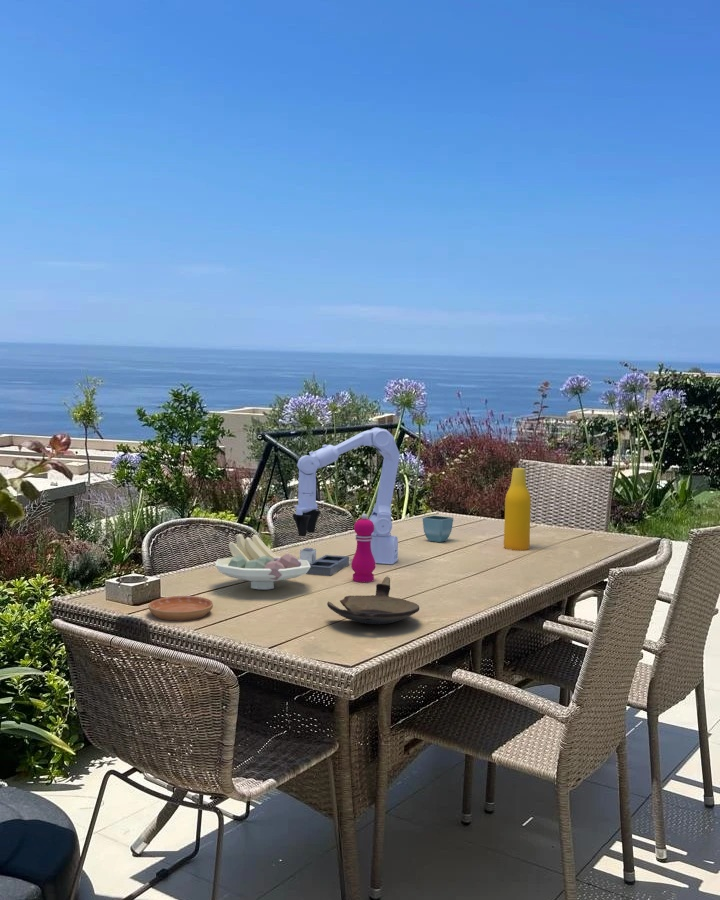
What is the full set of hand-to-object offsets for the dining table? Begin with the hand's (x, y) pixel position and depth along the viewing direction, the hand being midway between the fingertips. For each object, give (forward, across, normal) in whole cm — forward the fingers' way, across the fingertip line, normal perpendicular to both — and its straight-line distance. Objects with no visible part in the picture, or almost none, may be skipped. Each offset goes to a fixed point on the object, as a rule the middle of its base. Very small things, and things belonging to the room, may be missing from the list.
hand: (306, 534), depth 294 cm
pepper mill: (+10, +17, +25) cm, 32 cm away
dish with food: (+10, +38, +1) cm, 39 cm away
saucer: (+10, +72, -7) cm, 73 cm away
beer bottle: (+10, -54, +61) cm, 82 cm away
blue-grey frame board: (+10, +6, +10) cm, 15 cm away
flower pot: (+10, -58, +31) cm, 66 cm away
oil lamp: (+10, +59, +42) cm, 73 cm away
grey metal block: (+10, +3, +2) cm, 10 cm away
